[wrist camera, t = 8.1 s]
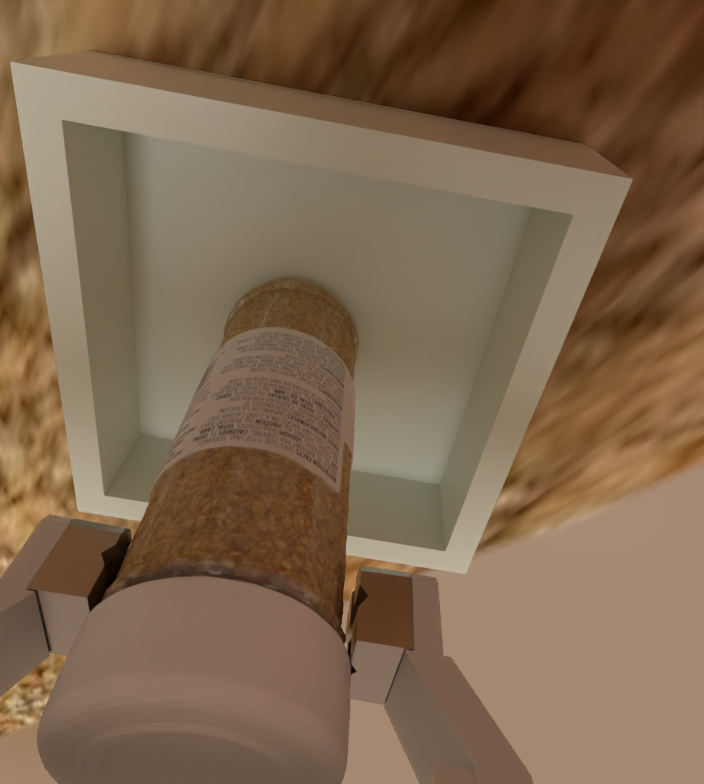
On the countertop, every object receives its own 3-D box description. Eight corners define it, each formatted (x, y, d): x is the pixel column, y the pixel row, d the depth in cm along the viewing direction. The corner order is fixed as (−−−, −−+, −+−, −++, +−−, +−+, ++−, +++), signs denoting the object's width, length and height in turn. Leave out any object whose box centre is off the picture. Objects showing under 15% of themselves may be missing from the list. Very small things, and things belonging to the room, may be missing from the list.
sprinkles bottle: (315, 412, 21) (253, 867, 10) (202, 351, 20) (-14, 798, 9) (387, 320, 19) (412, 770, 8) (266, 244, 18) (87, 657, 6)
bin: (91, 49, 16) (9, 61, 12) (585, 144, 16) (633, 178, 13) (123, 440, 24) (78, 510, 20) (456, 496, 24) (465, 573, 21)
